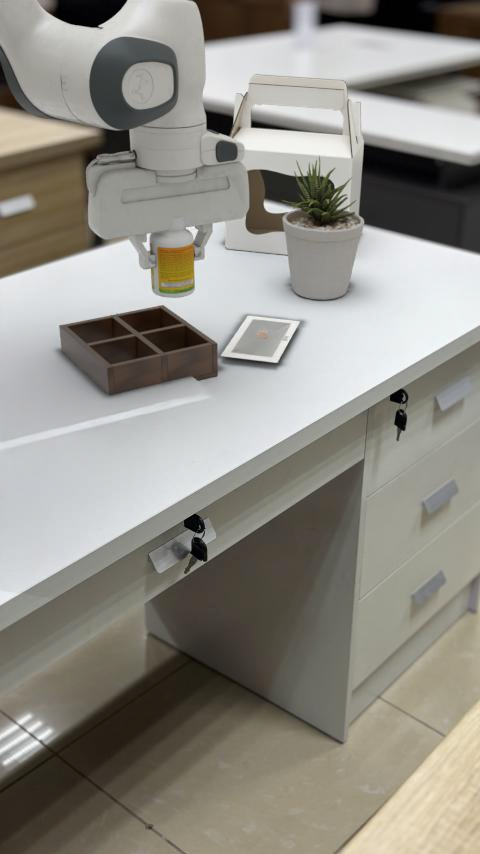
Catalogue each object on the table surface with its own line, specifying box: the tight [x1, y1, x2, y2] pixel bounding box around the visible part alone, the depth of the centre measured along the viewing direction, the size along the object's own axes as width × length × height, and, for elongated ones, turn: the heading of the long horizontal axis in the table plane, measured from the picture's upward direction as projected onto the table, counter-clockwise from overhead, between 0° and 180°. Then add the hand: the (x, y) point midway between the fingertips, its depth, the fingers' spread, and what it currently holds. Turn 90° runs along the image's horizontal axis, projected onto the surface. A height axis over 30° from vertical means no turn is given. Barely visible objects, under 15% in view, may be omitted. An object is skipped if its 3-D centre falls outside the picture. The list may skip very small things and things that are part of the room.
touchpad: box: [220, 315, 301, 364], centre depth 133 cm, size 8×15×2 cm, turn 167°
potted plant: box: [280, 157, 365, 301], centre depth 147 cm, size 13×14×20 cm
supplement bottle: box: [149, 217, 196, 299], centre depth 117 cm, size 5×5×10 cm
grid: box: [58, 304, 219, 396], centre depth 125 cm, size 15×15×5 cm
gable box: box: [224, 73, 365, 256], centre depth 164 cm, size 22×13×28 cm, turn 77°
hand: (172, 263), depth 117 cm, fingers closed on supplement bottle, 5 cm apart
